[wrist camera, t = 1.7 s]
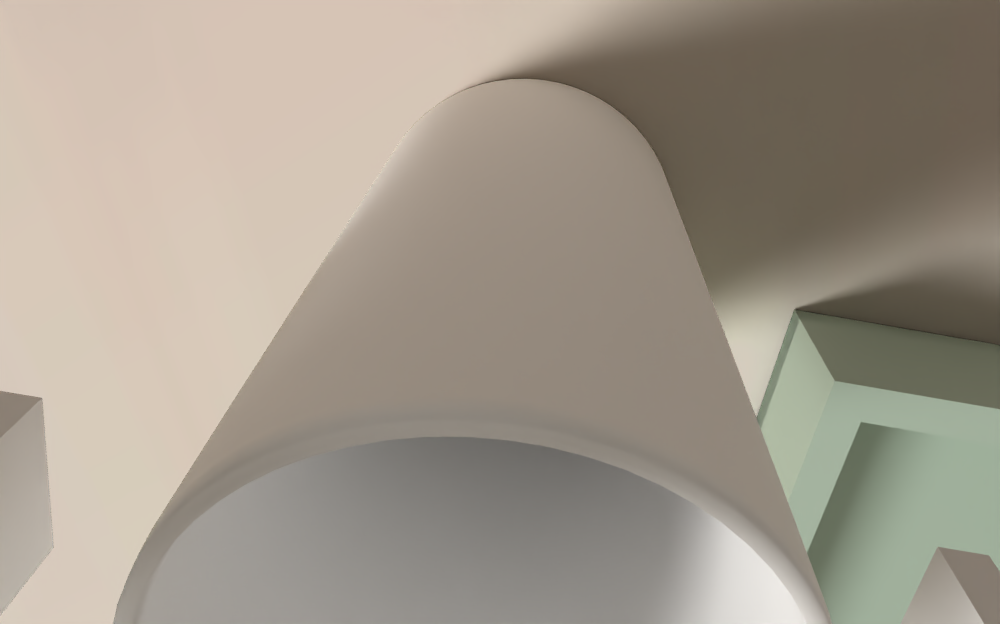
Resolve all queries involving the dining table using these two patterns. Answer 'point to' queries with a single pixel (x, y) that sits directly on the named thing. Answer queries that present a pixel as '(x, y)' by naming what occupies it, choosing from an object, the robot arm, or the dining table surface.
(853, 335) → the bin
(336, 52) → the dining table surface
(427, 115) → the cup
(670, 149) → the dining table surface
